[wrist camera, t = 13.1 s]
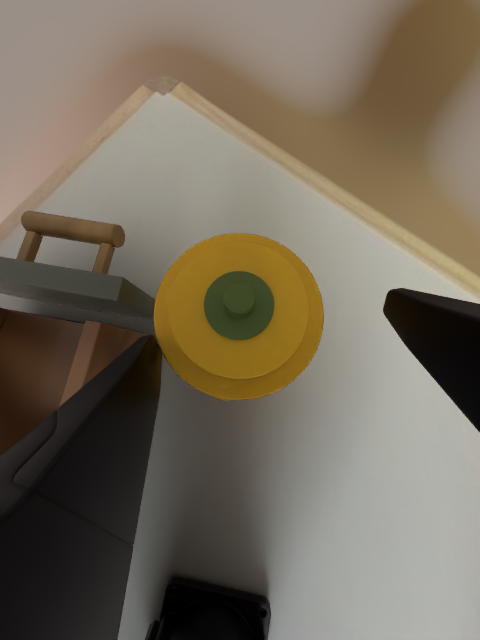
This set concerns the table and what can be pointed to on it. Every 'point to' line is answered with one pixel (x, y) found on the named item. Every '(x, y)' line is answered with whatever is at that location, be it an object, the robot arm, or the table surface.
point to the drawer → (59, 323)
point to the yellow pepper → (238, 316)
